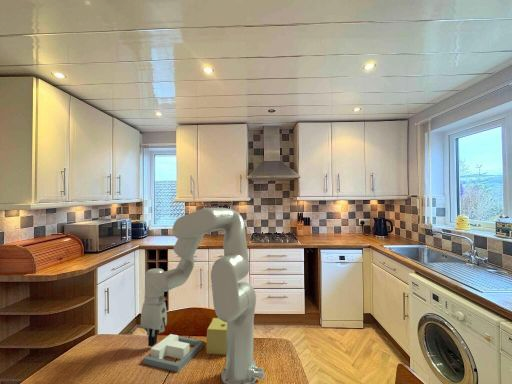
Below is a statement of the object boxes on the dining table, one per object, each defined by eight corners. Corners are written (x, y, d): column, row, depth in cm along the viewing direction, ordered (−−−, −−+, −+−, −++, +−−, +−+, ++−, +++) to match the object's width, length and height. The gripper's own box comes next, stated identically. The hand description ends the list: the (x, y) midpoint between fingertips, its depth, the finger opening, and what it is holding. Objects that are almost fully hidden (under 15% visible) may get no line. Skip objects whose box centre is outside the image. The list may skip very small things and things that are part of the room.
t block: (194, 348, 103) (194, 338, 104) (177, 365, 92) (177, 354, 92) (170, 343, 107) (170, 333, 107) (150, 359, 96) (151, 348, 96)
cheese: (235, 342, 109) (235, 318, 110) (230, 356, 98) (230, 330, 99) (212, 340, 110) (212, 317, 111) (205, 354, 99) (205, 329, 100)
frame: (203, 345, 105) (204, 341, 106) (178, 372, 88) (178, 366, 88) (173, 339, 110) (173, 335, 110) (143, 363, 93) (143, 357, 93)
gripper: (174, 298, 105) (173, 343, 104) (146, 294, 110) (144, 337, 109) (162, 304, 98) (161, 353, 97) (133, 300, 103) (131, 346, 102)
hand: (152, 344), depth 103 cm, fingers closed
